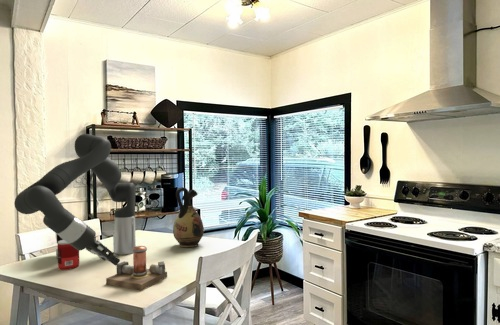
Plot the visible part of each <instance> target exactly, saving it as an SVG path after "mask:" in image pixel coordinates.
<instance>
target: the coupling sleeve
mask: <svg viewBox="0 0 500 325" xmlns="http://www.w3.org/2000/svg"><path fill="white" fill-rule="evenodd" d="M147 250H148V249H147V246H145V245H137V246H136V247H134V248H133V249H132V252H133V253H132V256H133V260H132V262H133V265H132V266H134V271H133V275H134V276H135V277H141V276H145V275H146V274H147V270H146V269H147Z"/></svg>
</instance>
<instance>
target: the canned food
mask: <svg viewBox="0 0 500 325" xmlns="http://www.w3.org/2000/svg"><path fill="white" fill-rule="evenodd" d="M56 246H57V247H56V248H57V249H58V257H57V268H58V270H62V271H63V270H65V271H67V270H71V269H72V270H73V269H75V268H78V267H79V266H80V250H77V249H75V248H74V247H73V246H71V245H70V244H69V243H67V242H66V241H65V240H60V241H58V243H57V245H56Z"/></svg>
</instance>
